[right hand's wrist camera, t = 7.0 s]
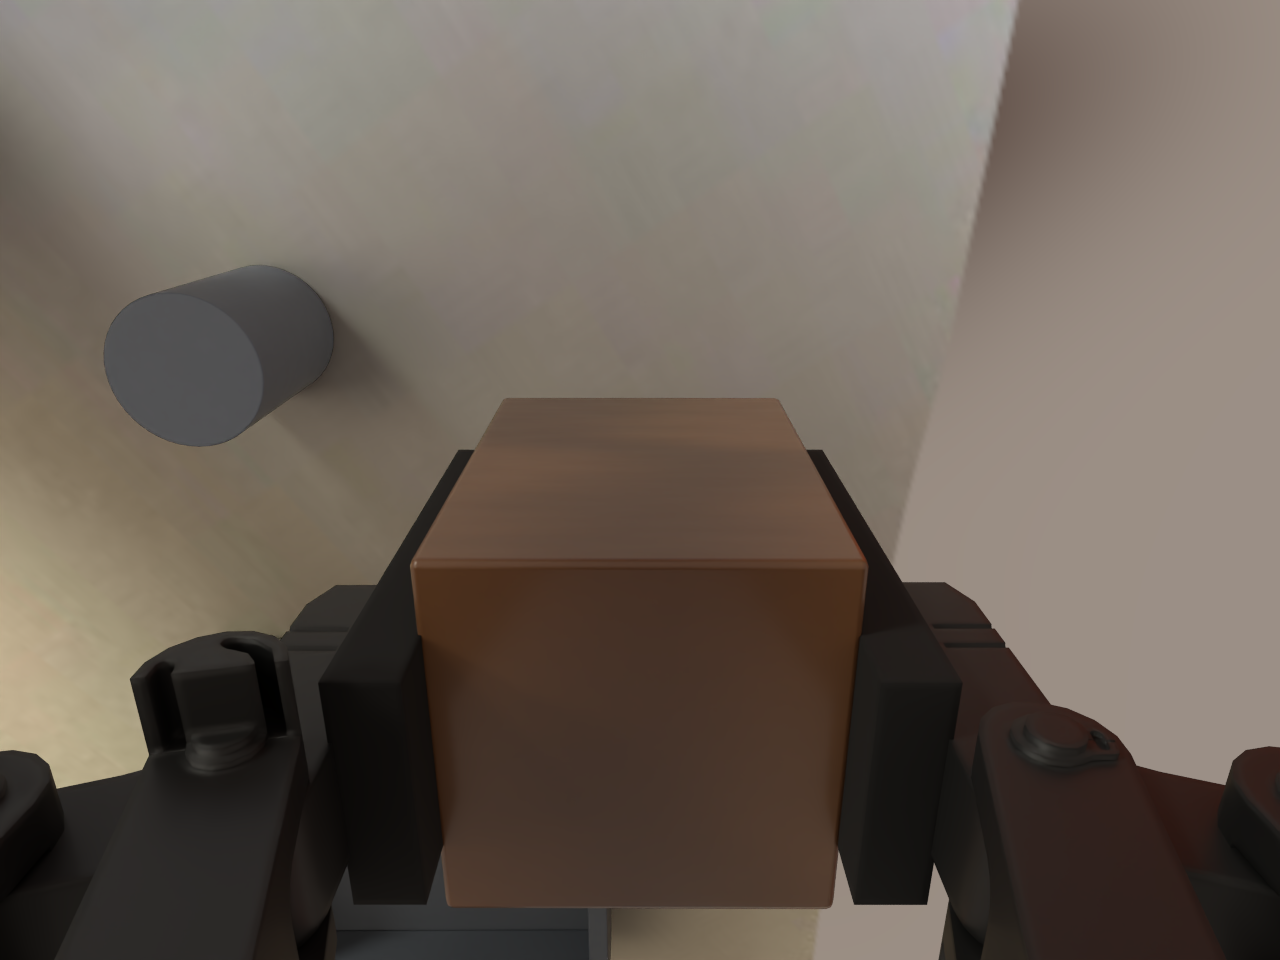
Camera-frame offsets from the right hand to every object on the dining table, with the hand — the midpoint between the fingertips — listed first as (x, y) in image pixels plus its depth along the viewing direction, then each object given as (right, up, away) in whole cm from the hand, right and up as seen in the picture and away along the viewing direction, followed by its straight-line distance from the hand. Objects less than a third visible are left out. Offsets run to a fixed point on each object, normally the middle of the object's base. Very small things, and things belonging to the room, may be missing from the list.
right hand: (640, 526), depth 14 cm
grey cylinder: (-13, +6, +16) cm, 21 cm away
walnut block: (0, 0, 0) cm, 0 cm away
